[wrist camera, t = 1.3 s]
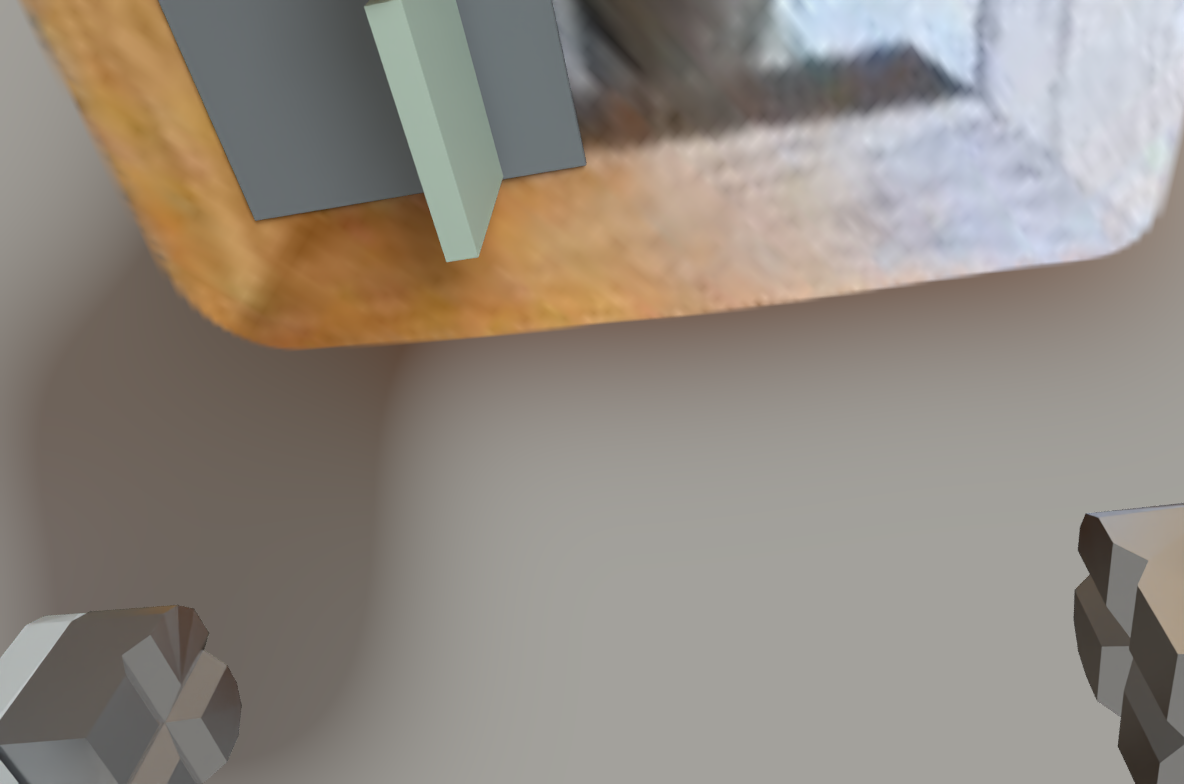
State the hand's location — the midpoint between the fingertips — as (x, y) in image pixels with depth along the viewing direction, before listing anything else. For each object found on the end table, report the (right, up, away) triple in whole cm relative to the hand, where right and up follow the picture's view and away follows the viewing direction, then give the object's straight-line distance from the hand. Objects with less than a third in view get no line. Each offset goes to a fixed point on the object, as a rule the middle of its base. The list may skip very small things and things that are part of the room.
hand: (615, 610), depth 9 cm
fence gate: (-5, +14, +29) cm, 33 cm away
